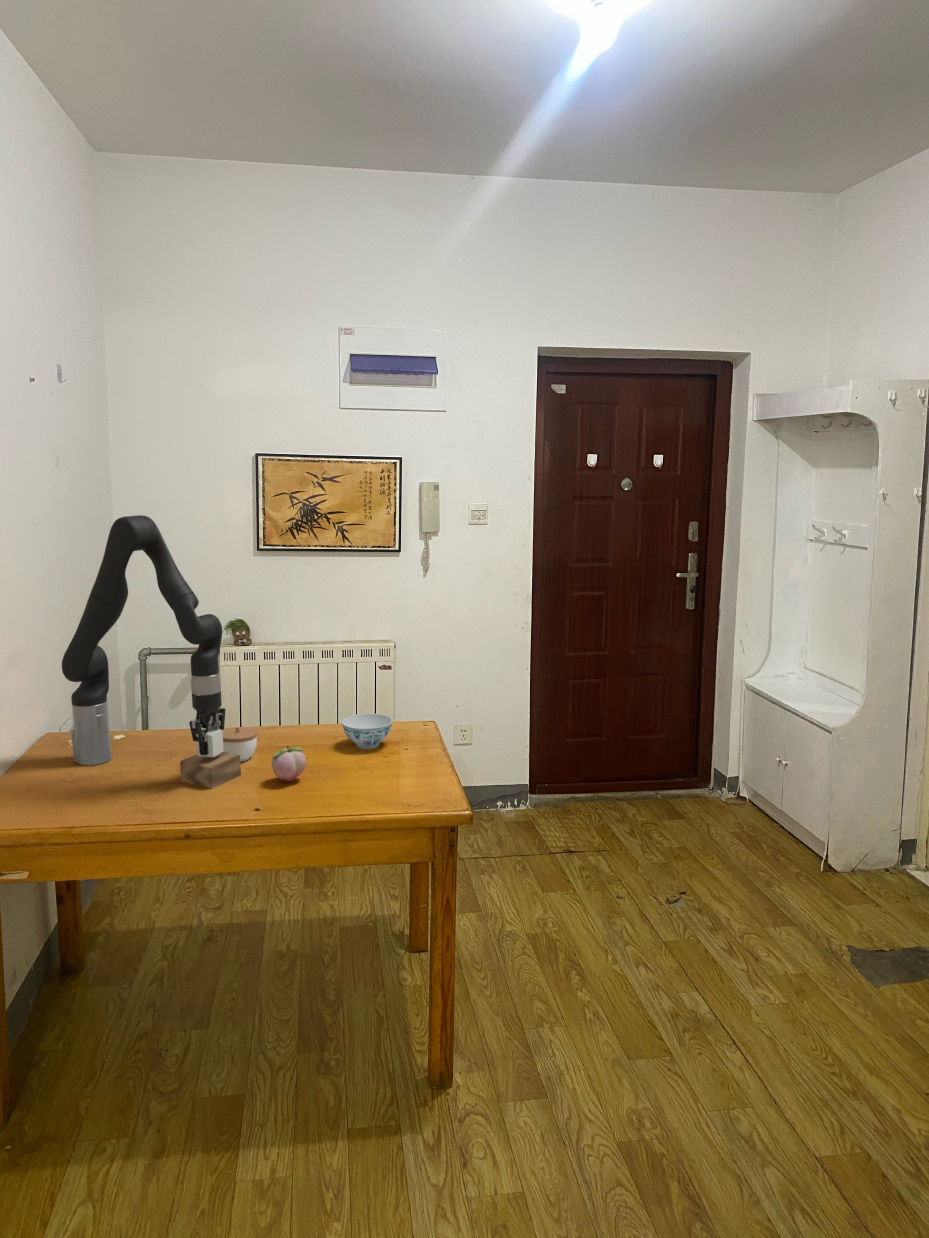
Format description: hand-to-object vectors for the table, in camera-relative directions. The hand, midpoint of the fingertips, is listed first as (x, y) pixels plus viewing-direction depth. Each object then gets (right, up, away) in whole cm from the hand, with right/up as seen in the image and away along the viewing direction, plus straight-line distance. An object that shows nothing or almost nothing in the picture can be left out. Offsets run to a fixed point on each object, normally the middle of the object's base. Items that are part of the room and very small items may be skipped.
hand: (209, 750), depth 239 cm
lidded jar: (+4, -5, +17) cm, 18 cm away
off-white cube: (0, -1, 0) cm, 1 cm away
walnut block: (0, -8, +2) cm, 8 cm away
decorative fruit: (+21, -8, -1) cm, 23 cm away
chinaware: (+39, -3, +28) cm, 48 cm away
